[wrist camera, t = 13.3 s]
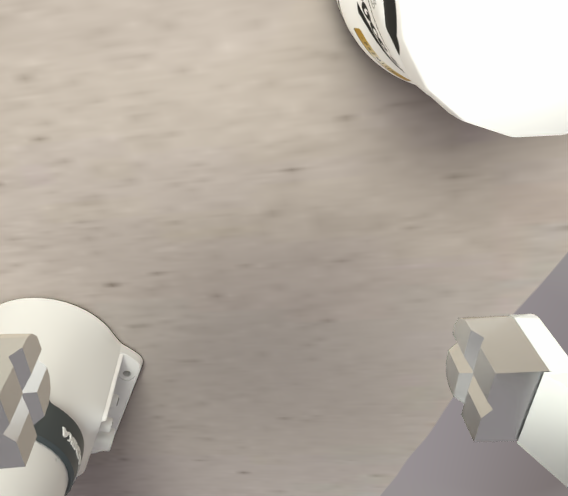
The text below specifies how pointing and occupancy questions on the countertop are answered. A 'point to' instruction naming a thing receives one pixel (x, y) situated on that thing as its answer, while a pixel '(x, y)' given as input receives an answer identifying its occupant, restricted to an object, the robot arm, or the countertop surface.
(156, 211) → the countertop surface
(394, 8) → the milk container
